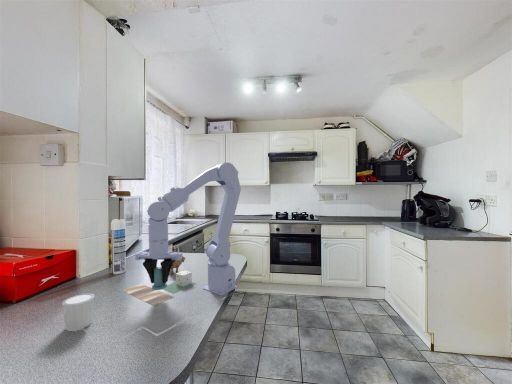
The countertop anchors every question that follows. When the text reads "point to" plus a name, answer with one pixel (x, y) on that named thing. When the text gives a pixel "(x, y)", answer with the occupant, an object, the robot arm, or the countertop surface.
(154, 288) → the pawn
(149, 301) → the track
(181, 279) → the die
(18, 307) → the countertop surface
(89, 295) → the white cylinder
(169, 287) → the felt pad
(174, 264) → the lion figurine
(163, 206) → the robot arm
